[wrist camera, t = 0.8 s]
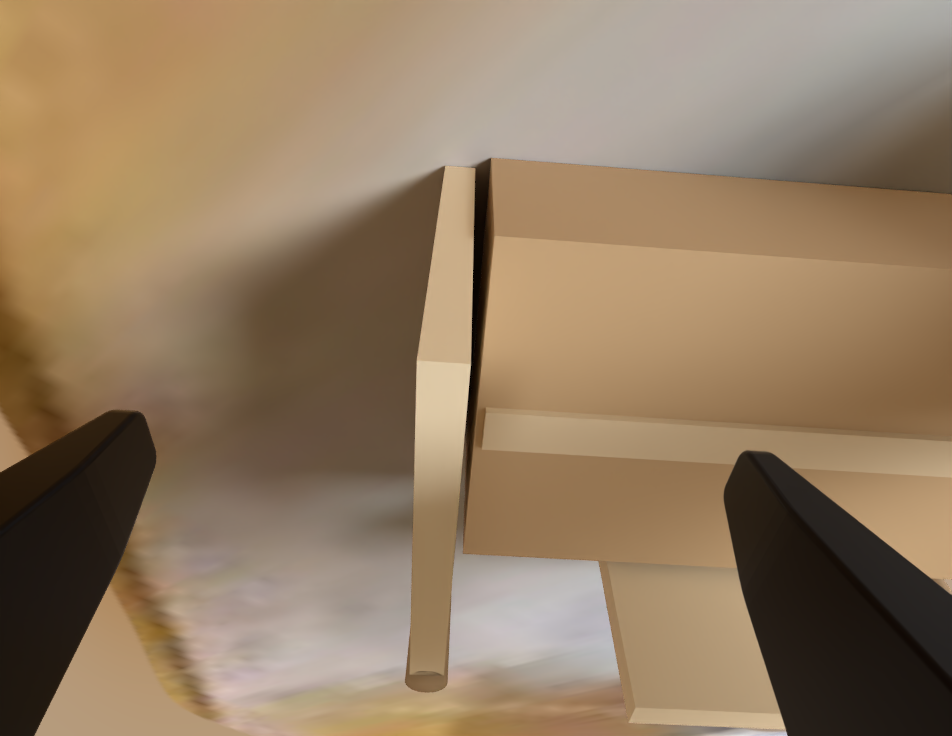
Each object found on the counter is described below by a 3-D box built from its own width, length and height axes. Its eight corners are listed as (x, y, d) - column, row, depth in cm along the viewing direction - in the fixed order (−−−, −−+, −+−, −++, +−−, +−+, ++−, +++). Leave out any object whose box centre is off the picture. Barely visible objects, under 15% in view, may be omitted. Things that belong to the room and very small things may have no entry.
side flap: (872, 468, 23) (1057, 724, 16) (860, 487, 23) (1032, 741, 16) (585, 451, 22) (636, 705, 15) (580, 470, 23) (627, 724, 16)
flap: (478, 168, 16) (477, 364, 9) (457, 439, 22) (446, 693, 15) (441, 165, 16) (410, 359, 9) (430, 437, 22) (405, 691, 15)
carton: (1036, 200, 17) (1222, 293, 13) (871, 462, 23) (960, 585, 18) (491, 158, 16) (494, 239, 12) (466, 438, 22) (462, 559, 18)
